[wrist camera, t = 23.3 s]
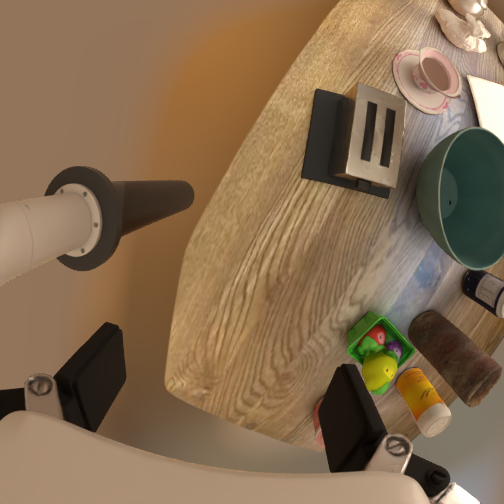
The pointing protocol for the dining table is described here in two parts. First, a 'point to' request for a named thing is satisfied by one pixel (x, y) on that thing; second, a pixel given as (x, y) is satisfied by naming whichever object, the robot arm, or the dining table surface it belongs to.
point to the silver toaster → (368, 138)
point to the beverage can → (485, 290)
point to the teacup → (427, 79)
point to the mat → (327, 144)
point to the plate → (489, 104)
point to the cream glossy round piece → (469, 6)
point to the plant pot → (465, 197)
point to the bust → (463, 30)
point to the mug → (501, 52)
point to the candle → (455, 357)
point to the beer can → (423, 402)
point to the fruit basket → (378, 350)
